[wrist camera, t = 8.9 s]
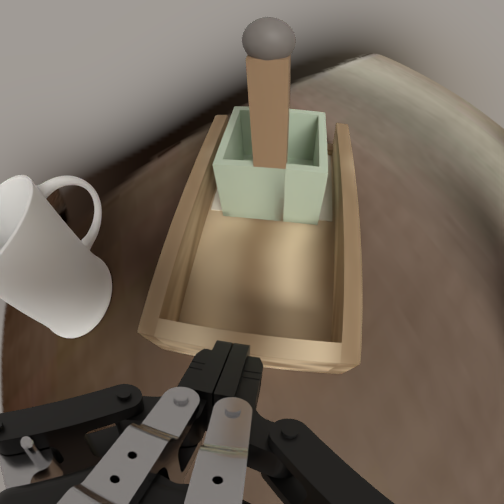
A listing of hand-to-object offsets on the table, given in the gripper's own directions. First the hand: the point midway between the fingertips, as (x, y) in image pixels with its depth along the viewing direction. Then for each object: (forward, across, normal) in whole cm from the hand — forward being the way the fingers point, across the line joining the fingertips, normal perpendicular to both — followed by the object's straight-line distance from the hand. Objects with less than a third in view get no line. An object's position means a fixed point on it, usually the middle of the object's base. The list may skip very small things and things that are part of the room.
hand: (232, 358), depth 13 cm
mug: (+9, +16, +2) cm, 19 cm away
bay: (+14, 0, -3) cm, 14 cm away
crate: (+16, 0, -7) cm, 18 cm away
